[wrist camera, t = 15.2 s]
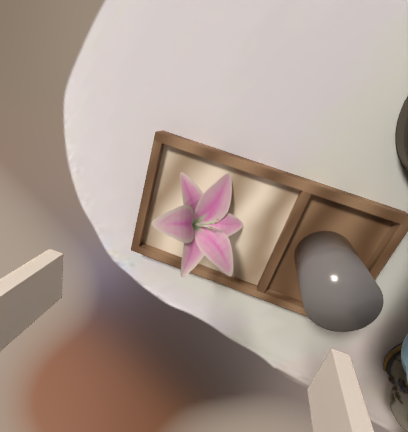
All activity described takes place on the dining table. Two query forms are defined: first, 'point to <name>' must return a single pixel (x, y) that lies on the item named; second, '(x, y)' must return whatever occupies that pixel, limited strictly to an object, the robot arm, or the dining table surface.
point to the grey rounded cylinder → (336, 283)
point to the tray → (261, 218)
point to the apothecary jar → (398, 386)
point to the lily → (202, 224)
